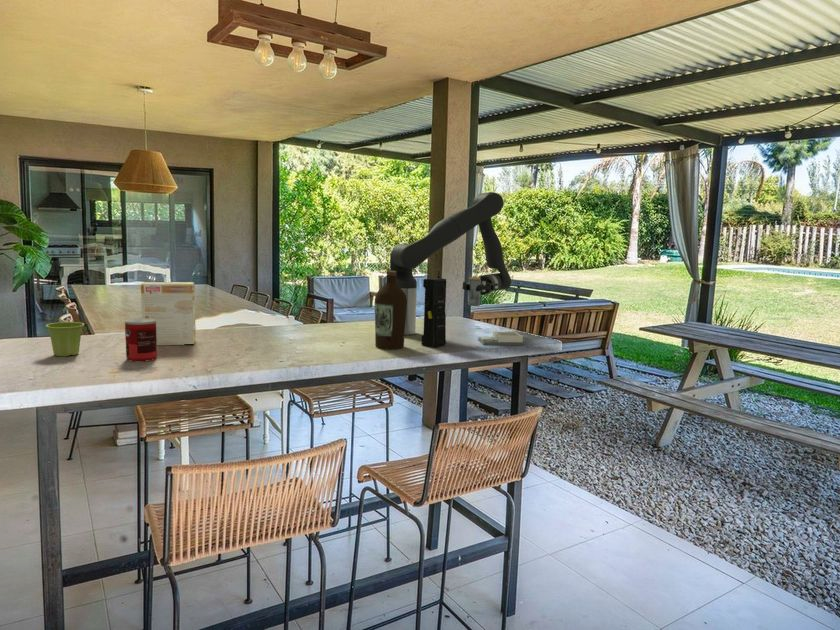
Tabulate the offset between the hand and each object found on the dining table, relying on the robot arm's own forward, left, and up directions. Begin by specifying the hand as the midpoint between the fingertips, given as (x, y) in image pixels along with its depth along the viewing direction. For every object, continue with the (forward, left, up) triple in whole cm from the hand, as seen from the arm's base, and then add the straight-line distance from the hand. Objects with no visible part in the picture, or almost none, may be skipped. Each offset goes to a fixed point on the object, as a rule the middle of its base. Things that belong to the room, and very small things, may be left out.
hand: (472, 287), depth 210 cm
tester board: (+10, -5, -19) cm, 22 cm away
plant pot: (-123, -30, -19) cm, 128 cm away
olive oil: (-30, -14, -19) cm, 38 cm away
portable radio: (-15, -11, -19) cm, 27 cm away
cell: (+1, +2, -6) cm, 7 cm away
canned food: (-101, -35, -19) cm, 109 cm away
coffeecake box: (-100, -12, -19) cm, 103 cm away
